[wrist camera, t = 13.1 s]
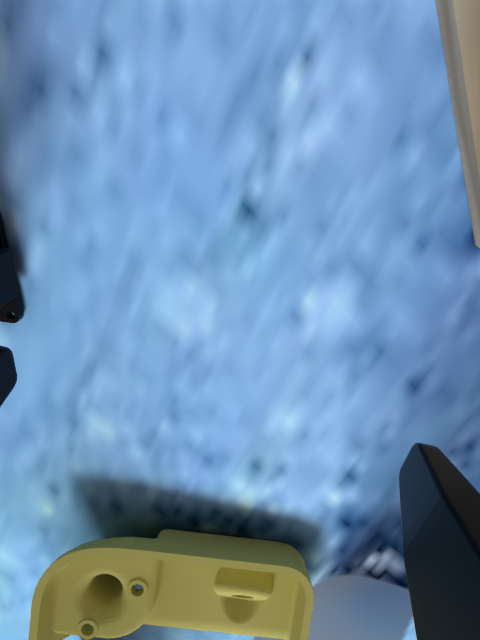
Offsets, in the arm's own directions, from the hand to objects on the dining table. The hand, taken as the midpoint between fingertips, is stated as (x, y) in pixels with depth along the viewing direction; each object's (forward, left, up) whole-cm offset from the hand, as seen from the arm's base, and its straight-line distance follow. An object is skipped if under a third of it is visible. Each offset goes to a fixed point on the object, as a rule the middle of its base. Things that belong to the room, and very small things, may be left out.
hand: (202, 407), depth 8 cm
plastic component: (-3, -28, -12) cm, 30 cm away
